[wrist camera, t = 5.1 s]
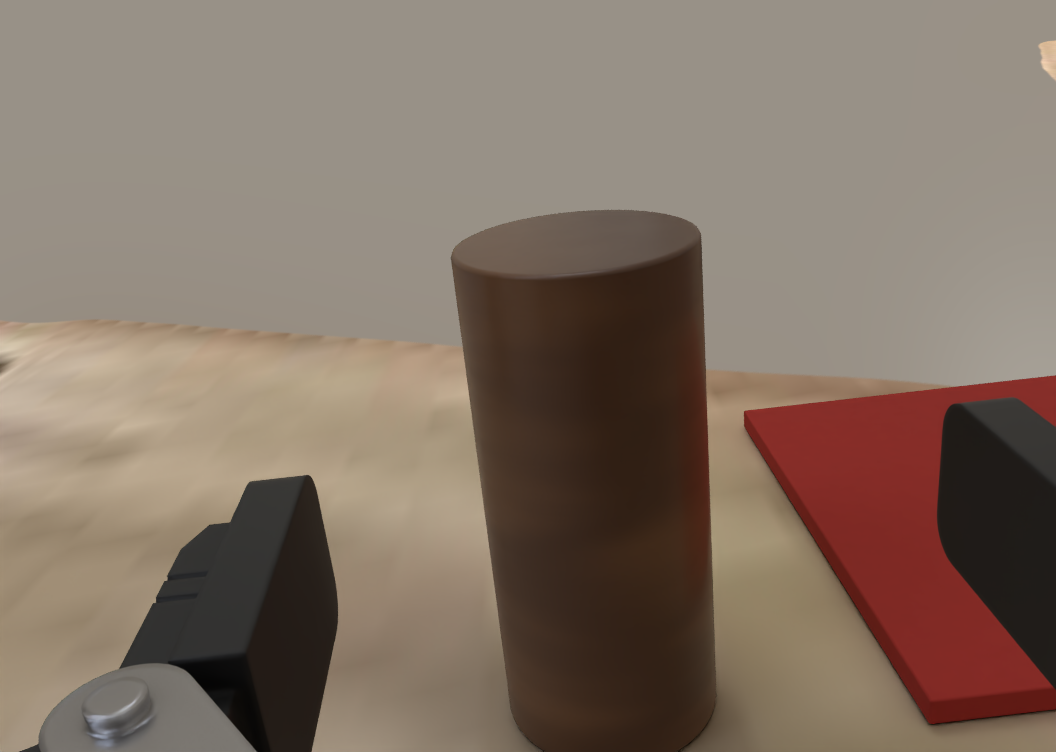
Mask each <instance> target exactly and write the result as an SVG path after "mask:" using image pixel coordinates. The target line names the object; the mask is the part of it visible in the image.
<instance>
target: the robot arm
mask: <svg viewBox="0 0 1056 752" xmlns="http://www.w3.org/2000/svg"><path fill="white" fill-rule="evenodd" d="M937 526H938V532H939V537H940V541H941V544H942V547H943V550H944V552H945V554H946V556H947V558H948V560H949V561H950V563H951V564H952V565H953V566H954V568H955V569H956V570H957V571H958V572H959V574H960V575H961V576H962V577H963V579H964V580H965V581H966V582H967V583H968V585H969V586H970V587H971V588H972V589H973V591H974V592H975V593H976V594H977V595H978V597H979V598H980V599H981V600H982V601H983V603H984V604H985V605H986V606H987V608H988V609H989V610H990V611H991V612H992V614H993V615H994V616H995V617H996V618H997V620H998V621H999V622H1000V623H1001V624H1002V626H1003V627H1004V628H1005V629H1006V631H1007V632H1008V633H1009V634H1010V635H1011V637H1012V638H1013V639H1014V640H1015V641H1016V643H1017V644H1018V645H1019V646H1020V647H1021V649H1022V650H1023V651H1024V652H1025V653H1026V655H1027V656H1028V657H1029V658H1030V660H1031V661H1032V662H1033V663H1034V664H1035V666H1036V667H1037V668H1038V669H1039V670H1040V672H1041V673H1042V674H1043V675H1044V676H1045V678H1046V679H1047V680H1048V681H1049V683H1050V684H1051V685H1052V686H1053V687H1054V689H1055V690H1056V427H1055V426H1054V425H1052V424H1051V423H1050V422H1048V421H1047V420H1046V419H1045V418H1043V417H1042V416H1041V415H1039V414H1038V413H1037V412H1035V411H1034V410H1033V409H1031V408H1030V407H1029V406H1027V405H1026V404H1025V403H1023V402H1022V401H1021V400H1019V399H1017V398H1014V397H1008V398H999V399H990V400H982V401H973V402H964V403H955V404H952V405H951V406H950V407H949V408H948V409H947V411H946V413H945V416H944V420H943V428H942V443H941V458H940V472H939V487H938V502H937ZM167 577H168V581H164V583H163V585H162V587H161V589H160V591H159V593H158V595H157V597H156V603H153V604H152V606H151V608H150V610H149V612H148V614H147V616H146V618H145V620H144V622H143V624H142V626H141V628H140V630H139V632H138V633H137V635H136V637H135V639H134V641H133V643H132V645H131V647H130V649H129V651H128V653H127V655H126V657H125V659H124V661H123V663H122V664H121V666H120V668H119V669H118V670H115V671H112V672H109V673H106V674H104V675H102V676H99V677H97V678H95V679H93V680H91V681H89V682H88V683H86V684H84V685H82V686H81V687H79V688H78V689H76V690H75V691H73V692H72V693H70V694H69V695H68V696H67V697H65V698H64V699H63V700H62V701H61V702H60V703H59V704H58V705H57V706H56V707H55V708H54V709H53V710H52V711H51V713H50V714H49V715H48V717H47V718H46V719H45V721H44V723H43V725H42V727H41V730H40V733H39V744H38V745H35V746H33V747H31V748H28V749H25V750H23V751H20V752H311V751H312V746H313V742H314V737H315V732H316V727H317V723H318V718H319V713H320V708H321V703H322V699H323V694H324V689H325V684H326V680H327V675H328V670H329V665H330V661H331V656H332V651H333V646H334V642H335V637H336V632H337V624H338V601H337V590H336V583H335V577H334V573H333V568H332V563H331V558H330V553H329V548H328V543H327V538H326V534H325V529H324V524H323V519H322V514H321V509H320V504H319V499H318V495H317V490H316V487H315V484H314V481H313V479H312V478H311V476H309V475H304V476H295V477H286V478H278V479H269V480H260V481H251V482H249V483H248V485H247V486H246V489H245V491H244V493H243V495H242V497H241V500H240V502H239V504H238V506H237V508H236V511H235V513H234V515H233V517H232V520H231V522H230V523H222V524H213V525H209V526H208V527H206V528H205V529H204V530H203V531H202V532H201V533H199V534H198V535H197V536H196V537H195V538H194V539H193V540H191V541H190V542H189V543H188V544H187V545H186V546H184V547H183V548H182V549H181V550H180V552H179V554H178V556H177V558H176V560H175V562H174V564H173V566H172V568H171V570H170V572H169V573H168V575H167Z"/></svg>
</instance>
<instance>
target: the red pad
mask: <svg viewBox="0 0 1056 752" xmlns="http://www.w3.org/2000/svg"><path fill="white" fill-rule="evenodd" d="M1008 397H1014V398H1017V399H1019V400H1021V401H1022V402H1023V403H1025V404H1026V405H1027V406H1029V407H1030V408H1031V409H1033V410H1034V411H1035V412H1037V413H1038V414H1039V415H1041V416H1042V417H1043V418H1045V419H1046V420H1047V421H1048V422H1050V423H1051V424H1052V425H1054V426H1055V427H1056V376H1047V377H1038V378H1030V379H1020V380H1012V381H1003V382H994V383H985V384H978V385H968V386H959V387H950V388H941V389H932V390H924V391H915V392H906V393H897V394H889V395H880V396H871V397H862V398H853V399H845V400H836V401H827V402H818V403H809V404H801V405H792V406H783V407H774V408H765V409H757V410H748V411H744V427H745V428H746V430H747V431H748V433H749V435H750V436H751V438H752V439H753V441H754V443H755V444H756V446H757V448H758V449H759V451H760V452H761V454H762V456H763V457H764V459H765V460H766V462H767V464H768V465H769V467H770V468H771V470H772V472H773V473H774V475H775V476H776V478H777V480H778V481H779V483H780V484H781V486H782V488H783V489H784V491H785V493H786V494H787V496H788V497H789V499H790V501H791V502H792V504H793V505H794V507H795V509H796V510H797V512H798V513H799V515H800V517H801V518H802V520H803V521H804V523H805V525H806V526H807V528H808V530H809V531H810V533H811V534H812V536H813V538H814V539H815V541H816V542H817V544H818V546H819V547H820V549H821V550H822V552H823V554H824V555H825V557H826V558H827V560H828V562H829V563H830V565H831V566H832V568H833V570H834V571H835V573H836V575H837V576H838V578H839V579H840V581H841V583H842V584H843V586H844V587H845V589H846V591H847V592H848V594H849V595H850V597H851V599H852V600H853V602H854V603H855V605H856V607H857V608H858V610H859V611H860V613H861V615H862V616H863V618H864V620H865V621H866V623H867V624H868V626H869V628H870V629H871V631H872V632H873V634H874V636H875V637H876V639H877V640H878V642H879V644H880V645H881V647H882V648H883V650H884V652H885V653H886V655H887V656H888V658H889V660H890V661H891V663H892V665H893V666H894V668H895V669H896V671H897V673H898V674H899V676H900V677H901V679H902V681H903V682H904V684H905V685H906V687H907V689H908V690H909V692H910V693H911V695H912V697H913V698H914V700H915V701H916V703H917V705H918V706H919V708H920V710H921V711H922V713H923V714H924V716H925V718H926V719H927V721H928V722H929V723H930V724H935V723H944V722H952V721H961V720H969V719H978V718H986V717H994V716H1003V715H1011V714H1020V713H1028V712H1037V711H1045V710H1053V709H1056V690H1055V689H1054V687H1053V686H1052V685H1051V684H1050V683H1049V681H1048V680H1047V679H1046V678H1045V676H1044V675H1043V674H1042V673H1041V672H1040V670H1039V669H1038V668H1037V667H1036V666H1035V664H1034V663H1033V662H1032V661H1031V660H1030V658H1029V657H1028V656H1027V655H1026V653H1025V652H1024V651H1023V650H1022V649H1021V647H1020V646H1019V645H1018V644H1017V643H1016V641H1015V640H1014V639H1013V638H1012V637H1011V635H1010V634H1009V633H1008V632H1007V631H1006V629H1005V628H1004V627H1003V626H1002V624H1001V623H1000V622H999V621H998V620H997V618H996V617H995V616H994V615H993V614H992V612H991V611H990V610H989V609H988V608H987V606H986V605H985V604H984V603H983V601H982V600H981V599H980V598H979V597H978V595H977V594H976V593H975V592H974V591H973V589H972V588H971V587H970V586H969V585H968V583H967V582H966V581H965V580H964V579H963V577H962V576H961V575H960V574H959V572H958V571H957V570H956V569H955V568H954V566H953V565H952V564H951V563H950V561H949V560H948V558H947V556H946V554H945V552H944V550H943V547H942V544H941V541H940V537H939V532H938V526H937V502H938V487H939V472H940V458H941V443H942V428H943V420H944V416H945V413H946V411H947V409H948V408H949V407H950V406H951V405H952V404H955V403H964V402H973V401H982V400H990V399H999V398H1008Z"/></svg>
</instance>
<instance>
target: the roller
mask: <svg viewBox="0 0 1056 752" xmlns="http://www.w3.org/2000/svg"><path fill="white" fill-rule="evenodd" d="M701 246H702V245H701V233H700V231H699V230H698V228H697V226H695V225H694V224H693V223H691V222H689V221H687V220H685V219H682V218H679V217H675V216H671V215H667V214H661V213H655V212H647V211H634V210H595V211H578V212H568V213H559V214H551V215H544V216H538V217H533V218H527V219H522V220H518V221H513V222H509V223H506V224H502V225H498V226H495V227H492V228H489V229H486V230H484V231H481V232H479V233H477V234H474V235H472V236H470V237H468V238H467V239H465V240H463V241H461V242H460V243H459V244H458V245H457V246H456V247H455V248H454V250H453V252H452V256H451V261H452V269H453V277H454V283H455V292H456V299H457V307H458V314H459V321H460V329H461V337H462V343H463V352H464V360H465V367H466V375H467V382H468V390H469V397H470V405H471V412H472V420H473V427H474V435H475V442H476V450H477V457H478V465H479V472H480V480H481V488H482V495H483V503H484V510H485V518H486V525H487V533H488V540H489V548H490V555H491V563H492V570H493V578H494V585H495V593H496V600H497V608H498V616H499V623H500V631H501V638H502V646H503V653H504V661H505V668H506V676H507V683H508V691H509V698H510V705H511V711H512V714H513V717H514V719H515V721H516V723H517V725H518V726H519V728H520V729H521V731H522V732H523V733H524V734H525V736H526V737H527V738H528V739H529V740H530V741H531V742H532V743H534V744H535V745H536V746H537V747H539V748H540V749H542V750H543V751H545V752H676V751H678V750H680V749H681V748H683V747H684V746H686V745H687V744H688V743H690V742H691V741H692V740H693V739H694V738H695V737H696V736H697V735H699V733H700V732H701V731H702V730H703V728H704V727H705V726H706V724H707V722H708V721H709V719H710V717H711V715H712V713H713V710H714V707H715V702H716V667H715V637H714V607H713V577H712V546H711V516H710V486H709V456H708V426H707V396H706V366H705V337H704V309H703V307H704V306H703V275H702V247H701Z"/></svg>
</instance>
